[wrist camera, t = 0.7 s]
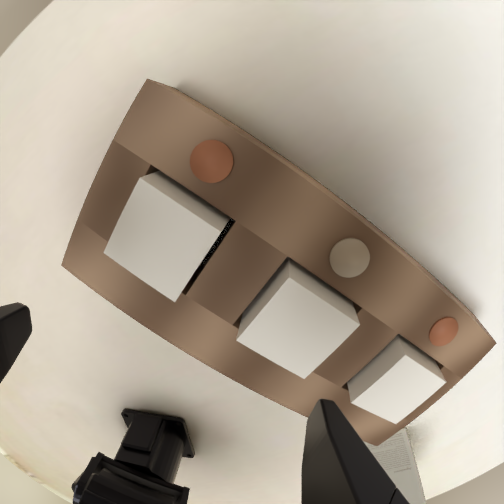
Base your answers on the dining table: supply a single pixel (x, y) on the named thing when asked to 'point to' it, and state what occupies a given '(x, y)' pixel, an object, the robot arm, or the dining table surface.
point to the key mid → (297, 319)
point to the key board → (265, 260)
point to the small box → (400, 465)
